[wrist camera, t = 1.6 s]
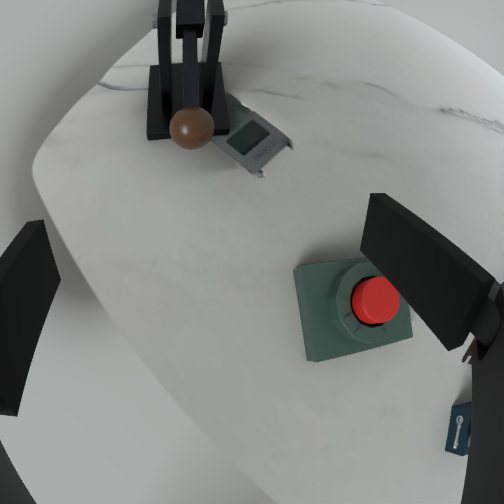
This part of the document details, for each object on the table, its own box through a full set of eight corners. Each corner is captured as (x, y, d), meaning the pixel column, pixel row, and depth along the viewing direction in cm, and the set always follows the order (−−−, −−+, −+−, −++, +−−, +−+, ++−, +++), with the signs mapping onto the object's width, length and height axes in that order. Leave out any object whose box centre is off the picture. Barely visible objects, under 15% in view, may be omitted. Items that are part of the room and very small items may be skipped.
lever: (213, 152, 24) (217, 142, 21) (171, 155, 23) (169, 145, 20) (207, 16, 22) (211, -5, 19) (170, 17, 22) (170, -4, 18)
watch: (440, 409, 27) (516, 420, 17) (483, 398, 28) (552, 402, 18) (432, 455, 26) (503, 477, 15) (476, 440, 27) (542, 452, 16)
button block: (306, 360, 26) (324, 364, 23) (292, 270, 28) (308, 259, 24) (400, 337, 28) (425, 336, 25) (386, 258, 30) (409, 247, 26)
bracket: (228, 135, 31) (250, 36, 18) (147, 141, 29) (132, 40, 17) (219, 68, 33) (235, -22, 21) (150, 72, 31) (145, -20, 19)
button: (355, 327, 24) (366, 326, 22) (348, 283, 25) (358, 279, 23) (391, 319, 25) (403, 317, 23) (384, 277, 26) (395, 273, 24)
